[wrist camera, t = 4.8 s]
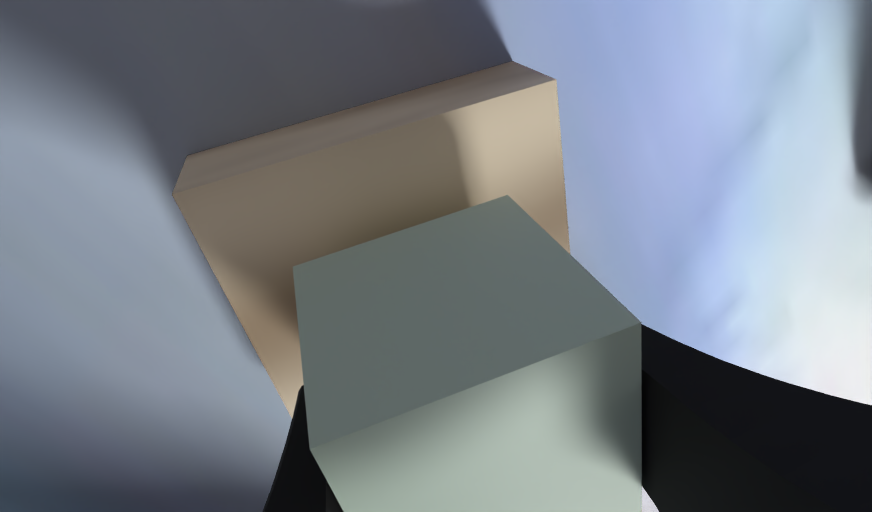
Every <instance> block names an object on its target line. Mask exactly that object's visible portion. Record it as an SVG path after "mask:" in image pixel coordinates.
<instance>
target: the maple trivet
mask: <svg viewBox="0 0 872 512" xmlns="http://www.w3.org/2000/svg"><path fill="white" fill-rule="evenodd" d="M505 195H508V196H509V197H510V198H512V199H513V200H514V201H515V202H516V203H517V204H518V205H519V206H520V207H521V208H522V209H523V210H524V211H525V212H526V213H527V214H528V215H529V216H530V217H531V218H532V219H534V220H535V221H536V222H537V223H538V224H539V225H540V226H541V227H542V228H543V229H544V230H545V231H546V232H547V233H548V234H549V235H550V236H551V237H552V238H553V239H554V240H555V241H557V242H558V243H559V244H560V245H561V246H562V247H563V248H564V249H565V250H566V251H567V252H568V253H569V254H570V246H569V234H568V221H567V209H566V196H565V183H564V171H563V158H562V146H561V133H560V121H559V108H558V96H557V83H556V79H554V78H552V77H549V76H547V75H544V74H542V73H540V72H537V71H535V70H533V69H530V68H528V67H526V66H523V65H521V64H518V63H516V62H514V61H511V62H508V63H504V64H501V65H497V66H494V67H490V68H487V69H483V70H480V71H477V72H473V73H470V74H466V75H463V76H459V77H456V78H453V79H449V80H446V81H442V82H439V83H435V84H432V85H428V86H425V87H422V88H418V89H415V90H411V91H408V92H404V93H401V94H397V95H394V96H391V97H387V98H384V99H380V100H377V101H373V102H370V103H366V104H363V105H360V106H356V107H353V108H349V109H346V110H342V111H339V112H335V113H332V114H329V115H325V116H322V117H318V118H315V119H311V120H308V121H304V122H301V123H298V124H294V125H291V126H287V127H284V128H280V129H277V130H273V131H270V132H267V133H263V134H260V135H256V136H253V137H249V138H246V139H242V140H239V141H236V142H232V143H229V144H225V145H222V146H218V147H215V148H211V149H208V150H205V151H201V152H198V153H194V154H191V155H187V157H186V160H185V162H184V165H183V167H182V170H181V172H180V175H179V178H178V180H177V183H176V185H175V188H174V190H173V193H172V196H173V198H174V199H175V201H176V203H177V205H178V207H179V209H180V211H181V212H182V214H183V216H184V218H185V220H186V222H187V224H188V225H189V227H190V229H191V231H192V233H193V235H194V237H195V239H196V240H197V242H198V244H199V246H200V248H201V250H202V252H203V253H204V255H205V257H206V259H207V261H208V263H209V265H210V266H211V268H212V270H213V272H214V274H215V276H216V278H217V280H218V281H219V283H220V285H221V287H222V289H223V291H224V293H225V294H226V296H227V298H228V300H229V302H230V304H231V306H232V307H233V309H234V311H235V313H236V315H237V317H238V319H239V320H240V322H241V324H242V326H243V328H244V330H245V332H246V334H247V335H248V337H249V339H250V341H251V343H252V345H253V347H254V348H255V350H256V352H257V354H258V356H259V358H260V360H261V361H262V363H263V365H264V367H265V369H266V371H267V373H268V375H269V376H270V378H271V380H272V382H273V384H274V386H275V388H276V389H277V391H278V393H279V395H280V397H281V399H282V401H283V402H284V404H285V406H286V408H287V410H288V412H289V414H290V415H291V417H292V418H293V413H294V409H295V405H296V400H297V395H298V391H299V389H300V388H301V386H302V385H304V383H303V372H302V362H301V351H300V340H299V330H298V319H297V308H296V298H295V287H294V277H293V266H296V265H299V264H302V263H305V262H308V261H311V260H314V259H317V258H320V257H323V256H326V255H329V254H332V253H335V252H338V251H341V250H344V249H347V248H350V247H353V246H356V245H359V244H362V243H365V242H368V241H371V240H374V239H377V238H380V237H383V236H386V235H389V234H392V233H395V232H398V231H401V230H404V229H407V228H410V227H413V226H416V225H419V224H422V223H425V222H428V221H431V220H434V219H437V218H440V217H443V216H446V215H449V214H452V213H455V212H458V211H461V210H464V209H467V208H470V207H472V206H475V205H478V204H481V203H484V202H487V201H490V200H493V199H496V198H499V197H502V196H505Z"/></svg>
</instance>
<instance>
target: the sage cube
mask: <svg viewBox="0 0 872 512" xmlns="http://www.w3.org/2000/svg"><path fill="white" fill-rule="evenodd" d="M293 277H294V287H295V298H296V308H297V319H298V330H299V340H300V351H301V362H302V372H303V383H304V393H305V404H306V415H307V425H308V436H309V447H310V451H311V452H312V454H313V456H314V458H315V460H316V462H317V463H318V465H319V467H320V469H321V471H322V473H323V474H324V476H325V478H326V480H327V482H328V484H329V486H330V487H331V489H332V491H333V493H334V495H335V497H336V498H337V500H338V502H339V504H340V506H341V508H342V510H343V511H344V512H642V390H641V322H640V321H639V320H638V319H637V318H636V317H635V316H634V315H633V314H632V313H631V312H630V311H629V310H628V309H627V308H626V307H625V306H624V305H622V304H621V303H620V302H619V301H618V300H617V299H616V298H615V297H614V296H613V295H612V294H611V293H610V292H609V291H608V290H607V289H606V288H605V287H604V286H603V285H602V284H601V283H599V282H598V281H597V280H596V279H595V278H594V277H593V276H592V275H591V274H590V273H589V272H588V271H587V270H586V269H585V268H584V267H583V266H582V265H581V264H580V263H579V262H577V261H576V260H575V259H574V258H573V257H572V256H571V255H570V254H569V253H568V252H567V251H566V250H565V249H564V248H563V247H562V246H561V245H560V244H559V243H558V242H557V241H555V240H554V239H553V238H552V237H551V236H550V235H549V234H548V233H547V232H546V231H545V230H544V229H543V228H542V227H541V226H540V225H539V224H538V223H537V222H536V221H535V220H534V219H532V218H531V217H530V216H529V215H528V214H527V213H526V212H525V211H524V210H523V209H522V208H521V207H520V206H519V205H518V204H517V203H516V202H515V201H514V200H513V199H512V198H510V197H509V196H508V195H505V196H502V197H499V198H496V199H493V200H490V201H487V202H484V203H481V204H478V205H475V206H472V207H470V208H467V209H464V210H461V211H458V212H455V213H452V214H449V215H446V216H443V217H440V218H437V219H434V220H431V221H428V222H425V223H422V224H419V225H416V226H413V227H410V228H407V229H404V230H401V231H398V232H395V233H392V234H389V235H386V236H383V237H380V238H377V239H374V240H371V241H368V242H365V243H362V244H359V245H356V246H353V247H350V248H347V249H344V250H341V251H338V252H335V253H332V254H329V255H326V256H323V257H320V258H317V259H314V260H311V261H308V262H305V263H302V264H299V265H296V266H293Z"/></svg>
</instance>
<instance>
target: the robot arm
mask: <svg viewBox="0 0 872 512" xmlns="http://www.w3.org/2000/svg"><path fill="white" fill-rule="evenodd" d="M641 390H642V486H643V488H644V489H645V491H646V492H647V494H648V495H649V496H650V498H651V499H652V501H653V502H654V504H655V505H656V507H657V509H658V510H659V512H872V405H867V404H863V403H859V402H855V401H851V400H847V399H843V398H839V397H835V396H831V395H828V394H824V393H821V392H817V391H814V390H810V389H807V388H803V387H800V386H796V385H793V384H789V383H786V382H783V381H780V380H777V379H774V378H771V377H767V376H764V375H762V374H759V373H756V372H753V371H750V370H748V369H745V368H742V367H739V366H736V365H734V364H731V363H728V362H726V361H723V360H720V359H718V358H715V357H713V356H710V355H708V354H706V353H703V352H701V351H699V350H696V349H694V348H692V347H689V346H687V345H685V344H682V343H680V342H678V341H676V340H674V339H671V338H669V337H667V336H665V335H663V334H661V333H659V332H657V331H655V330H653V329H651V328H649V327H646V326H644V325H642V324H641ZM263 512H344V511H343V510H342V508H341V506H340V504H339V502H338V500H337V498H336V497H335V495H334V493H333V491H332V489H331V487H330V486H329V484H328V482H327V480H326V478H325V476H324V474H323V473H322V471H321V469H320V467H319V465H318V463H317V462H316V460H315V458H314V456H313V454H312V452H311V451H310V447H309V436H308V425H307V415H306V404H305V393H304V385H302V386H301V388H300V389H299V391H298V395H297V400H296V405H295V409H294V413H293V418H292V421H291V425H290V429H289V433H288V436H287V440H286V444H285V447H284V450H283V453H282V456H281V460H280V463H279V466H278V469H277V472H276V476H275V479H274V482H273V485H272V487H271V490H270V493H269V496H268V498H267V501H266V504H265V506H264V509H263Z"/></svg>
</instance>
